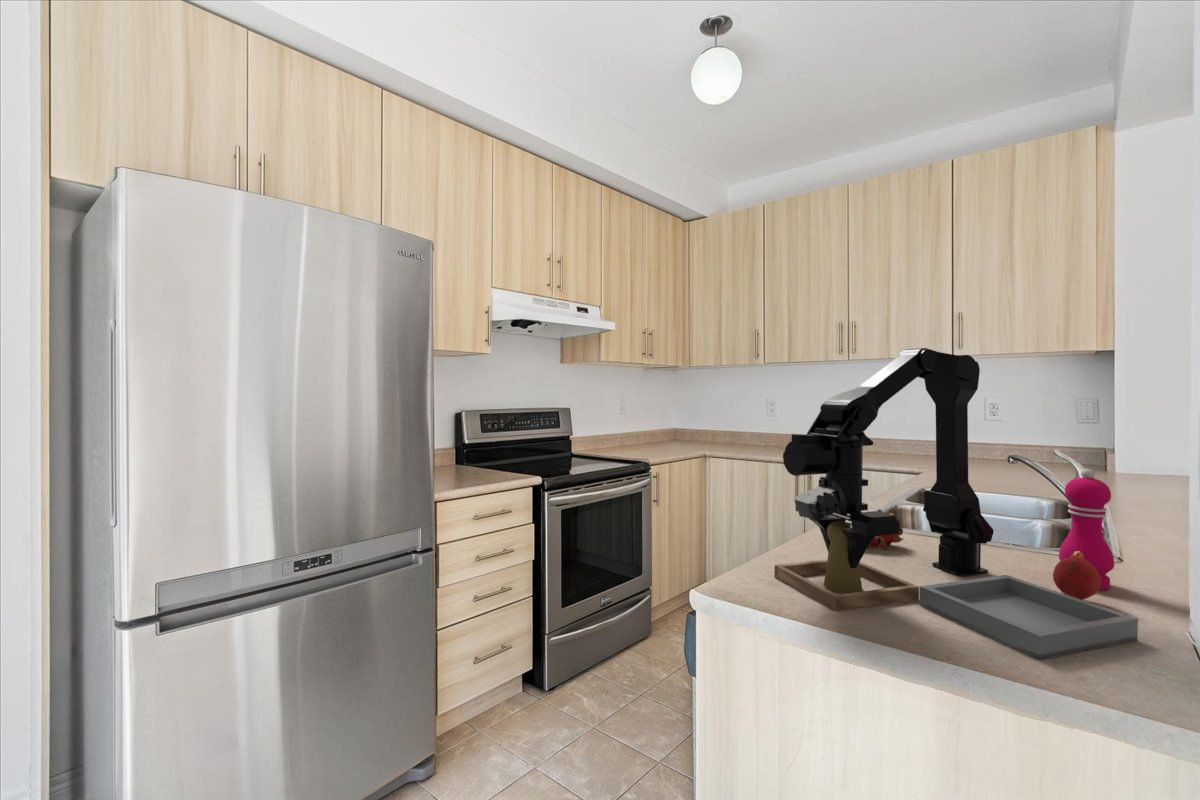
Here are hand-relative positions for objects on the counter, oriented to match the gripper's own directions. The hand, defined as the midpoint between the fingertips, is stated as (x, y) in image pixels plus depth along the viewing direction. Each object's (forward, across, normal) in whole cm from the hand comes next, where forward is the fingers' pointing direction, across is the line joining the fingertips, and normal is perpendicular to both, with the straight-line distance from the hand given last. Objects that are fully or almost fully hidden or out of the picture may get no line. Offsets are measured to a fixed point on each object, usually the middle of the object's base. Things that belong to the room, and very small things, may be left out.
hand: (842, 563), depth 95 cm
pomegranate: (+4, +16, +31) cm, 35 cm away
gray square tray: (+4, +19, +15) cm, 25 cm away
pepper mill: (+4, +11, +41) cm, 43 cm away
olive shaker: (+4, 0, 0) cm, 4 cm away
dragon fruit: (+4, -17, +23) cm, 29 cm away
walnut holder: (+4, 0, 0) cm, 4 cm away
